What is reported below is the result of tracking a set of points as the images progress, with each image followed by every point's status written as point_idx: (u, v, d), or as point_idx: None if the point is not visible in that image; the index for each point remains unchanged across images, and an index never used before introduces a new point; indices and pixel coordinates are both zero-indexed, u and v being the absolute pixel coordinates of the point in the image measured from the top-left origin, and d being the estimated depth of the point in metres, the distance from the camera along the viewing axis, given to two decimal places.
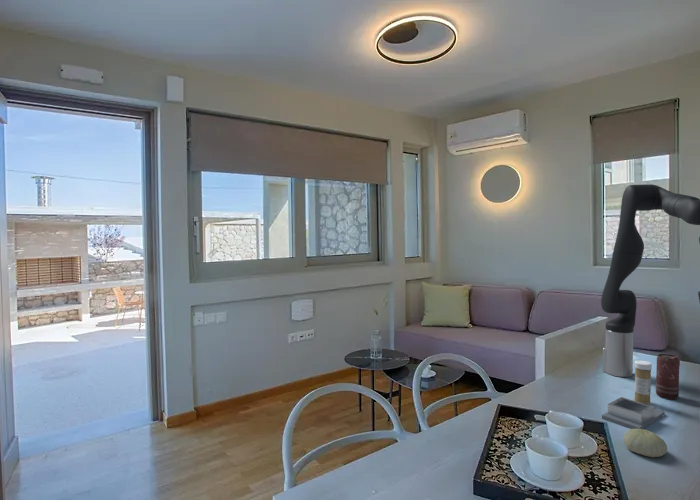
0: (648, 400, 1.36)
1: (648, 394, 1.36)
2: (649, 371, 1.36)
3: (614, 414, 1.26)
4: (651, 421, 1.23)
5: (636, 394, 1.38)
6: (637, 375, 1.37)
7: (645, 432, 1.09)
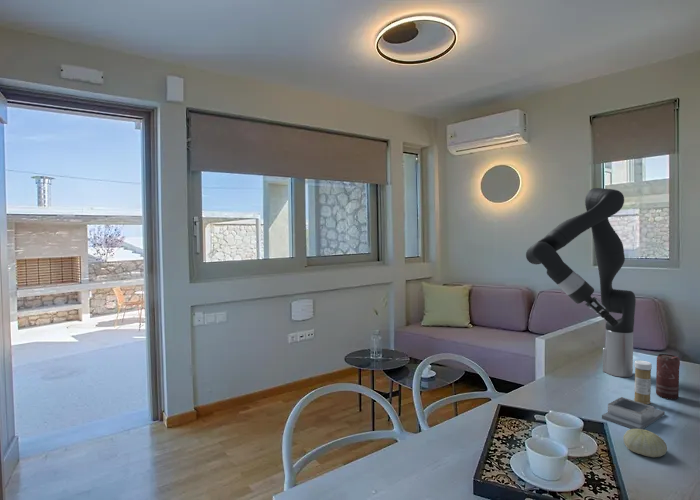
0: (648, 400, 1.36)
1: (648, 394, 1.36)
2: (649, 371, 1.36)
3: (614, 414, 1.26)
4: (651, 421, 1.23)
5: (636, 394, 1.38)
6: (637, 375, 1.37)
7: (645, 432, 1.09)
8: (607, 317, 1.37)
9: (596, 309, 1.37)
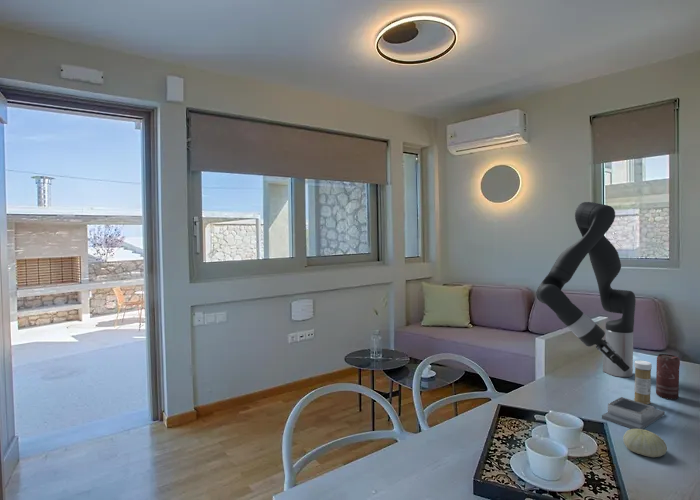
0: (648, 400, 1.36)
1: (648, 394, 1.36)
2: (649, 371, 1.36)
3: (614, 414, 1.26)
4: (651, 421, 1.23)
5: (636, 394, 1.38)
6: (637, 375, 1.37)
7: (645, 432, 1.09)
8: (618, 362, 1.35)
9: (607, 354, 1.35)
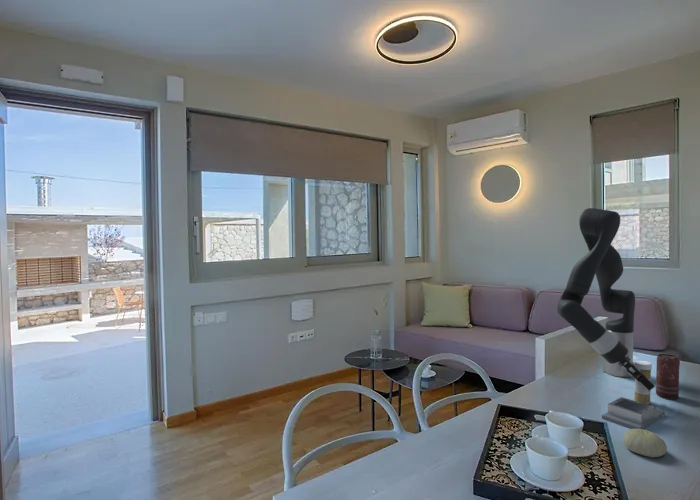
0: (648, 400, 1.36)
1: (648, 394, 1.36)
2: (649, 371, 1.36)
3: (614, 414, 1.26)
4: (651, 421, 1.23)
5: (636, 394, 1.38)
6: None
7: (645, 432, 1.09)
8: (643, 381, 1.35)
9: (634, 375, 1.33)
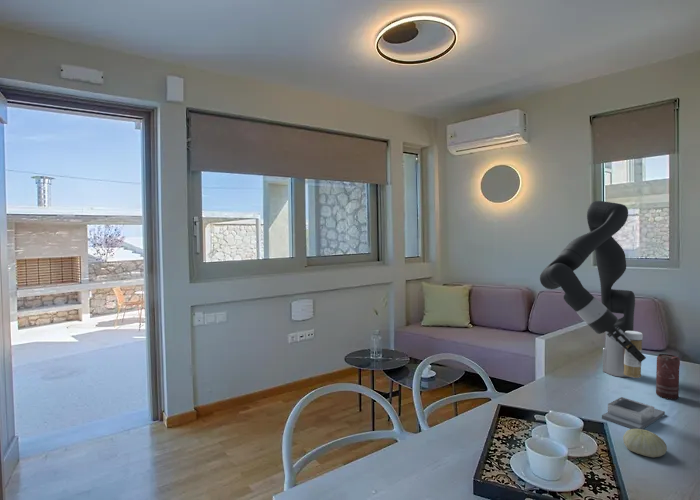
0: (638, 373, 1.25)
1: (638, 366, 1.25)
2: (640, 341, 1.25)
3: (614, 414, 1.26)
4: (651, 421, 1.23)
5: (626, 367, 1.27)
6: (627, 346, 1.26)
7: (645, 432, 1.09)
8: (633, 351, 1.24)
9: (623, 344, 1.22)
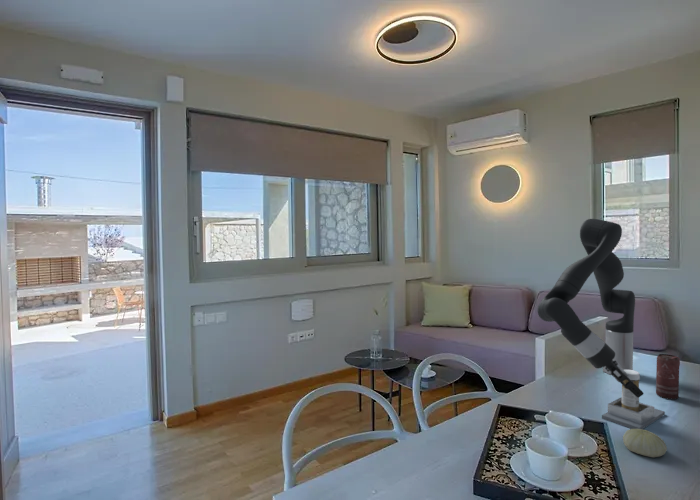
0: None
1: (636, 406, 1.24)
2: (637, 381, 1.24)
3: (614, 414, 1.26)
4: (651, 421, 1.23)
5: (623, 406, 1.26)
6: None
7: (645, 432, 1.09)
8: (631, 387, 1.22)
9: (619, 379, 1.21)
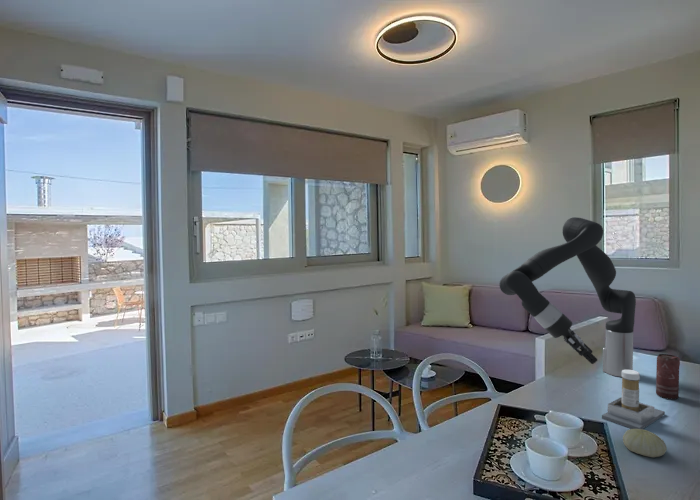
0: None
1: (636, 406, 1.24)
2: (637, 381, 1.24)
3: (614, 414, 1.26)
4: (651, 421, 1.23)
5: (623, 406, 1.26)
6: (624, 386, 1.26)
7: (644, 432, 1.09)
8: (585, 354, 1.27)
9: (573, 346, 1.26)
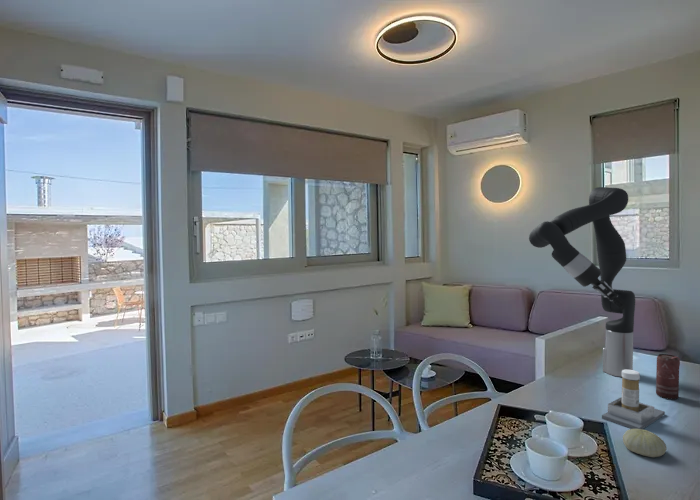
0: None
1: (636, 406, 1.24)
2: (637, 381, 1.24)
3: (614, 414, 1.26)
4: (651, 421, 1.23)
5: (623, 406, 1.26)
6: (624, 385, 1.26)
7: (644, 432, 1.09)
8: (615, 300, 1.31)
9: (604, 291, 1.31)
